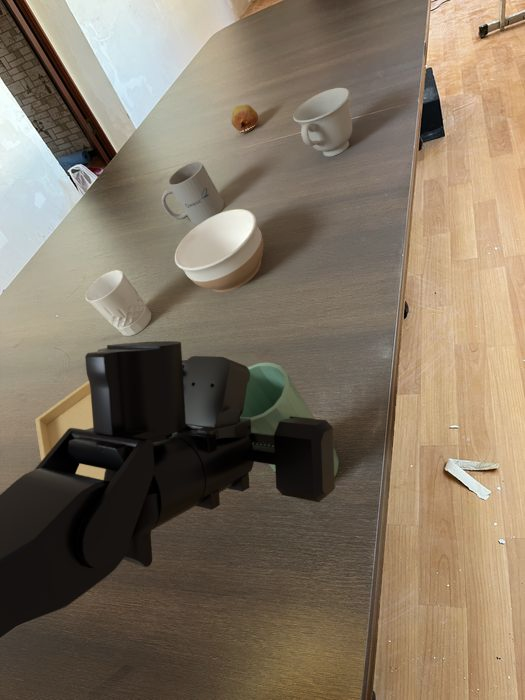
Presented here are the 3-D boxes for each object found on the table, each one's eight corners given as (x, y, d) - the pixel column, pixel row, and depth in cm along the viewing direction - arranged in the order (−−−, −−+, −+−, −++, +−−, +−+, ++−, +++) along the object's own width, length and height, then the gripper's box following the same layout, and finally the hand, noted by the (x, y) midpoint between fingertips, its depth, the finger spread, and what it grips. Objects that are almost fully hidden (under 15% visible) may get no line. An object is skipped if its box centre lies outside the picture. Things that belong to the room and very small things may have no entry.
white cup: (161, 309, 93) (130, 269, 86) (138, 340, 89) (104, 301, 82) (134, 307, 97) (103, 270, 91) (111, 337, 94) (77, 300, 87)
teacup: (294, 176, 105) (276, 133, 99) (324, 136, 112) (308, 93, 105) (344, 171, 98) (327, 124, 91) (372, 129, 104) (359, 82, 98)
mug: (226, 195, 113) (205, 156, 107) (221, 216, 108) (198, 176, 101) (181, 212, 118) (158, 175, 111) (173, 233, 112) (149, 196, 106)
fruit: (226, 109, 136) (225, 122, 128) (246, 92, 133) (245, 105, 125) (242, 129, 139) (242, 143, 132) (261, 113, 136) (262, 126, 129)
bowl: (215, 248, 99) (195, 216, 94) (285, 237, 91) (267, 201, 86) (183, 306, 90) (159, 274, 85) (257, 298, 82) (236, 262, 77)
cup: (331, 497, 53) (276, 421, 43) (276, 491, 56) (213, 420, 46) (343, 442, 57) (295, 360, 47) (291, 439, 60) (236, 363, 50)
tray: (145, 512, 62) (134, 504, 61) (69, 570, 61) (56, 563, 60) (101, 385, 85) (92, 377, 83) (44, 426, 84) (34, 419, 82)
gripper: (276, 373, 32) (364, 349, 45) (90, 365, 42) (206, 348, 55) (283, 538, 33) (367, 468, 46) (99, 491, 43) (211, 445, 56)
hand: (280, 426), depth 51 cm, fingers open, 9 cm apart
